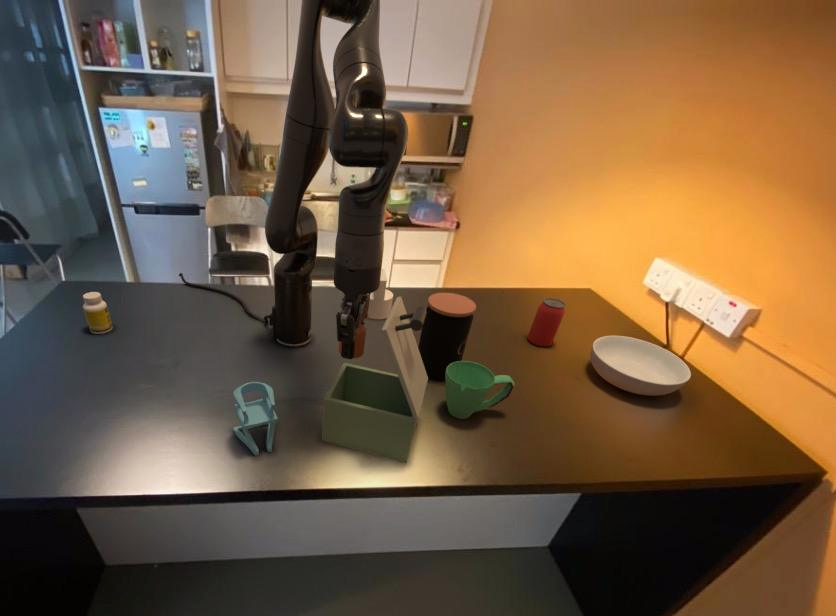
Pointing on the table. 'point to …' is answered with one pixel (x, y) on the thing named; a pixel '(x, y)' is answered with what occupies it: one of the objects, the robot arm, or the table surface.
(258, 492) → the table surface
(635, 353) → the serving bowl
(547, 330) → the beer can
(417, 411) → the box lid
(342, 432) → the pale green hollow box
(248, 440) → the chair
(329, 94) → the robot arm
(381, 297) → the base with upright slab
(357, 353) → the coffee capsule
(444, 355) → the coffee jar
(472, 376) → the mug
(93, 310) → the supplement bottle
